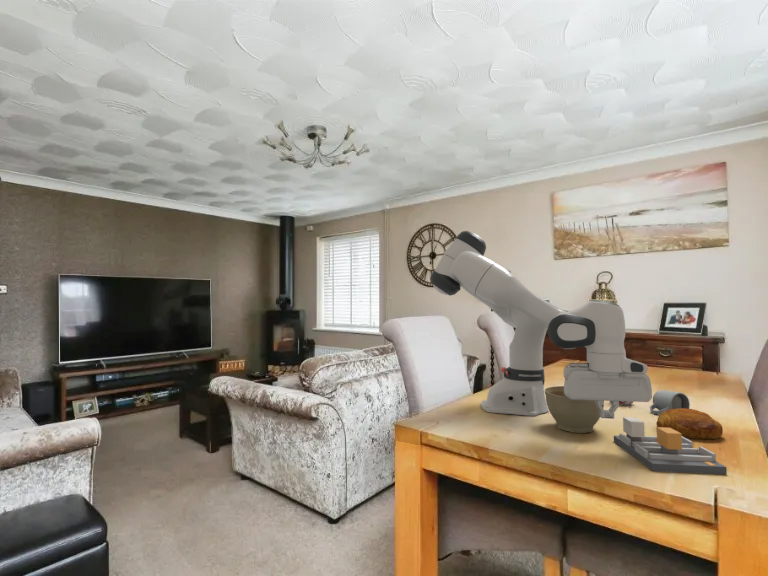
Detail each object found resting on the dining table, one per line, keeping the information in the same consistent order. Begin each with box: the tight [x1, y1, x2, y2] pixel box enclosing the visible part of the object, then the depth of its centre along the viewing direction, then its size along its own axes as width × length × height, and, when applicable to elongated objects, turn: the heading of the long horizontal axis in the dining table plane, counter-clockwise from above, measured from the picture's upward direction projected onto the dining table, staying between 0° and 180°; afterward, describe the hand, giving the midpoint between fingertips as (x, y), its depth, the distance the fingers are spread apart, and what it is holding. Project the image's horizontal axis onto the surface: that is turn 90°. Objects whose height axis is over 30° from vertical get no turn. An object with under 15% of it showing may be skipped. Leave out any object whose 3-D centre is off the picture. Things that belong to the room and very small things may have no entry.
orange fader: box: [656, 426, 682, 455], centre depth 94 cm, size 3×4×6 cm
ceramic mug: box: [649, 389, 691, 416], centre depth 136 cm, size 11×8×8 cm
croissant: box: [656, 408, 724, 440], centre depth 116 cm, size 14×16×8 cm
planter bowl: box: [544, 385, 605, 434], centre depth 119 cm, size 16×16×11 cm
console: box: [613, 432, 728, 475], centre depth 98 cm, size 15×19×3 cm
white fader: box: [622, 416, 646, 442], centre depth 102 cm, size 3×4×6 cm
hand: (607, 417), depth 103 cm, fingers closed
